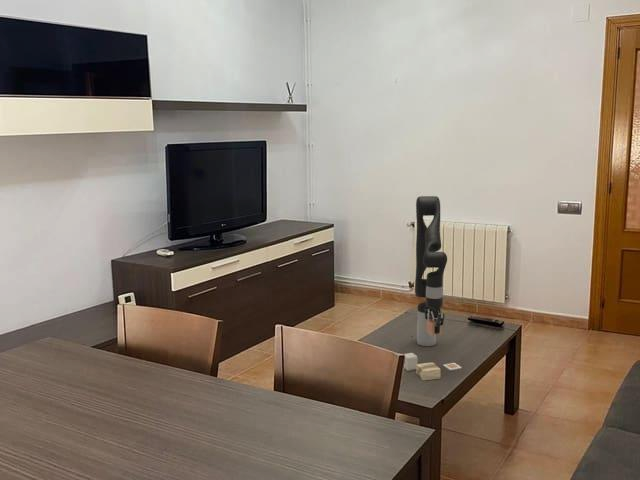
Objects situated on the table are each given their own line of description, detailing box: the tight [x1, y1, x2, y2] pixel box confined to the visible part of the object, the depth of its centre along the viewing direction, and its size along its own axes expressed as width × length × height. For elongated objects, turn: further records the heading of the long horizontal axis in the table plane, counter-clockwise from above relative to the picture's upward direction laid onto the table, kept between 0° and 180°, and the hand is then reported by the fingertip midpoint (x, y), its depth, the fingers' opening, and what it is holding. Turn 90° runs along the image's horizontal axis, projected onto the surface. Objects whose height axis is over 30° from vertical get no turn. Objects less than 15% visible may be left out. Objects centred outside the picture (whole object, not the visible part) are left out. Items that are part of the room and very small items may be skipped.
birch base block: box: [415, 361, 441, 381], centre depth 273 cm, size 8×8×4 cm
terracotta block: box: [426, 318, 443, 336], centre depth 280 cm, size 5×5×6 cm
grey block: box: [403, 352, 419, 372], centre depth 281 cm, size 5×5×6 cm
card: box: [442, 362, 462, 371], centre depth 282 cm, size 6×6×1 cm
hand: (433, 331), depth 281 cm, fingers closed on terracotta block, 5 cm apart
